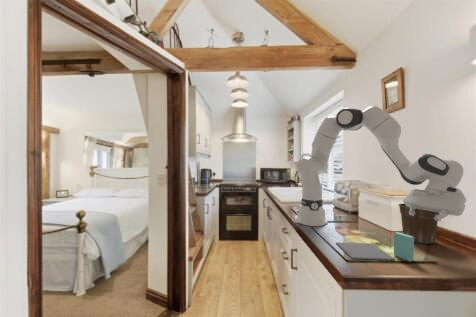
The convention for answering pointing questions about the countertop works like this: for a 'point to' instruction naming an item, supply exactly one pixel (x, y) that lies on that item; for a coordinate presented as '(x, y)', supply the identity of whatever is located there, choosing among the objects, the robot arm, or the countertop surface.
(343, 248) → the mat
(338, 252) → the countertop surface
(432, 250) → the countertop surface
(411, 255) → the teal board
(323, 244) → the countertop surface
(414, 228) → the plant pot
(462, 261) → the countertop surface
